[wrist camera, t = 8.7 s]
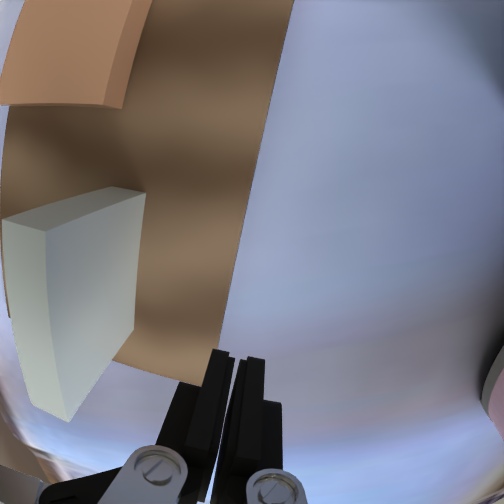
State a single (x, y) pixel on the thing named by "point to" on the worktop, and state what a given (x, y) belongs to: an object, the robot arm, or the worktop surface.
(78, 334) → the grey-blue tile
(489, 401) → the blender
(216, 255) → the walnut board
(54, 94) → the terracotta tile
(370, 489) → the worktop surface
